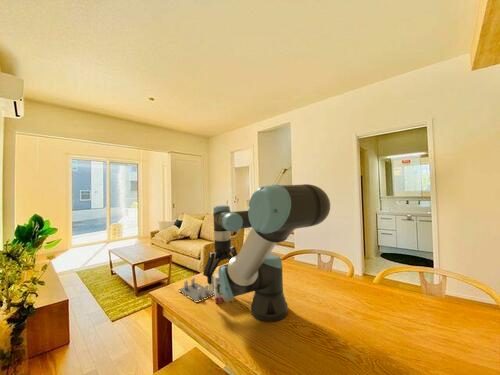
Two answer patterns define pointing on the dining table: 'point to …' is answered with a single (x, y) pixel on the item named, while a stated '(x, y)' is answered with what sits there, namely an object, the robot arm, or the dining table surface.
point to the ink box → (219, 291)
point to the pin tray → (196, 290)
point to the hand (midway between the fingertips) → (223, 285)
